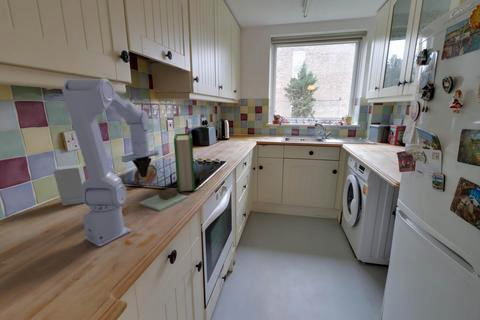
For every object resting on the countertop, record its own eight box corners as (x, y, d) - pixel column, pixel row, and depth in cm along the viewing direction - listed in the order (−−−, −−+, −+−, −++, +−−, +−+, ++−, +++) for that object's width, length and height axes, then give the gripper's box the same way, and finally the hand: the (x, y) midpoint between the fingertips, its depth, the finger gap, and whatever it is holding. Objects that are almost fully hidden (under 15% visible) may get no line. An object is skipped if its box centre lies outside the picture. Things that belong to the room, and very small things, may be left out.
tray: (160, 210, 83) (160, 208, 83) (139, 203, 89) (139, 201, 89) (187, 197, 95) (187, 195, 95) (167, 192, 101) (167, 190, 101)
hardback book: (195, 191, 102) (192, 138, 96) (177, 193, 100) (173, 138, 94) (193, 179, 118) (191, 133, 113) (179, 181, 117) (175, 134, 111)
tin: (140, 188, 107) (138, 170, 105) (134, 187, 108) (132, 170, 106) (157, 178, 121) (156, 163, 120) (152, 178, 122) (150, 162, 120)
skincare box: (89, 197, 96) (83, 163, 93) (85, 203, 90) (79, 167, 87) (65, 200, 93) (59, 165, 90) (60, 206, 88) (52, 169, 84)
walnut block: (165, 194, 90) (176, 189, 95) (158, 192, 92) (170, 187, 97) (165, 200, 90) (177, 195, 95) (159, 198, 93) (170, 193, 97)
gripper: (149, 139, 94) (152, 170, 98) (115, 144, 82) (119, 179, 86) (160, 140, 91) (163, 173, 94) (126, 145, 79) (131, 183, 82)
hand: (143, 176), depth 90 cm, fingers closed
